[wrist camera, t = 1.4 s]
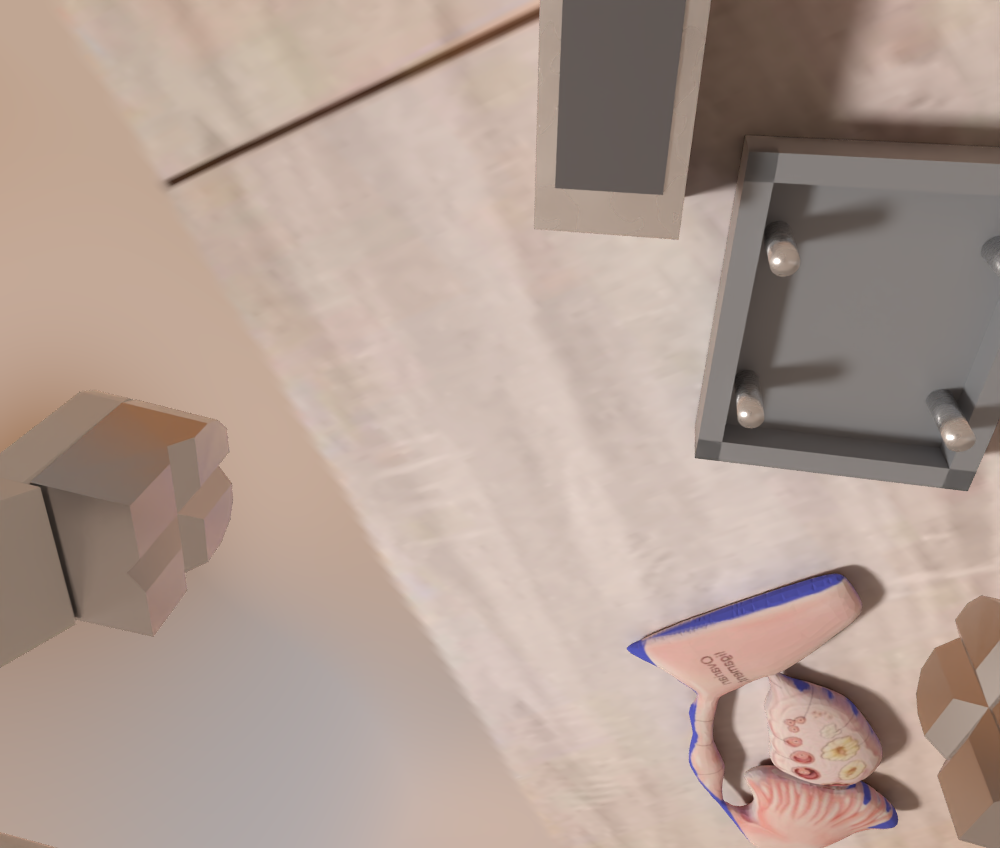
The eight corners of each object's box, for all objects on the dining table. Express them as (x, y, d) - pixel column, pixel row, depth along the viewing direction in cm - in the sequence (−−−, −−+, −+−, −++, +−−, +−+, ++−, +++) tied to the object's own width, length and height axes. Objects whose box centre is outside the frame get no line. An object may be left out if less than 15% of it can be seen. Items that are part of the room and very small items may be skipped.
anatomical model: (838, 552, 38) (592, 637, 45) (847, 593, 36) (586, 676, 43) (996, 787, 44) (759, 829, 52) (1012, 835, 42) (761, 872, 49)
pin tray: (1076, 150, 26) (1130, 182, 23) (950, 456, 33) (979, 514, 30) (744, 134, 28) (751, 162, 25) (694, 427, 35) (694, 478, 32)
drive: (722, -115, 24) (727, -123, 20) (681, 196, 30) (678, 240, 26) (568, -114, 25) (542, -121, 21) (556, 188, 31) (533, 230, 26)
